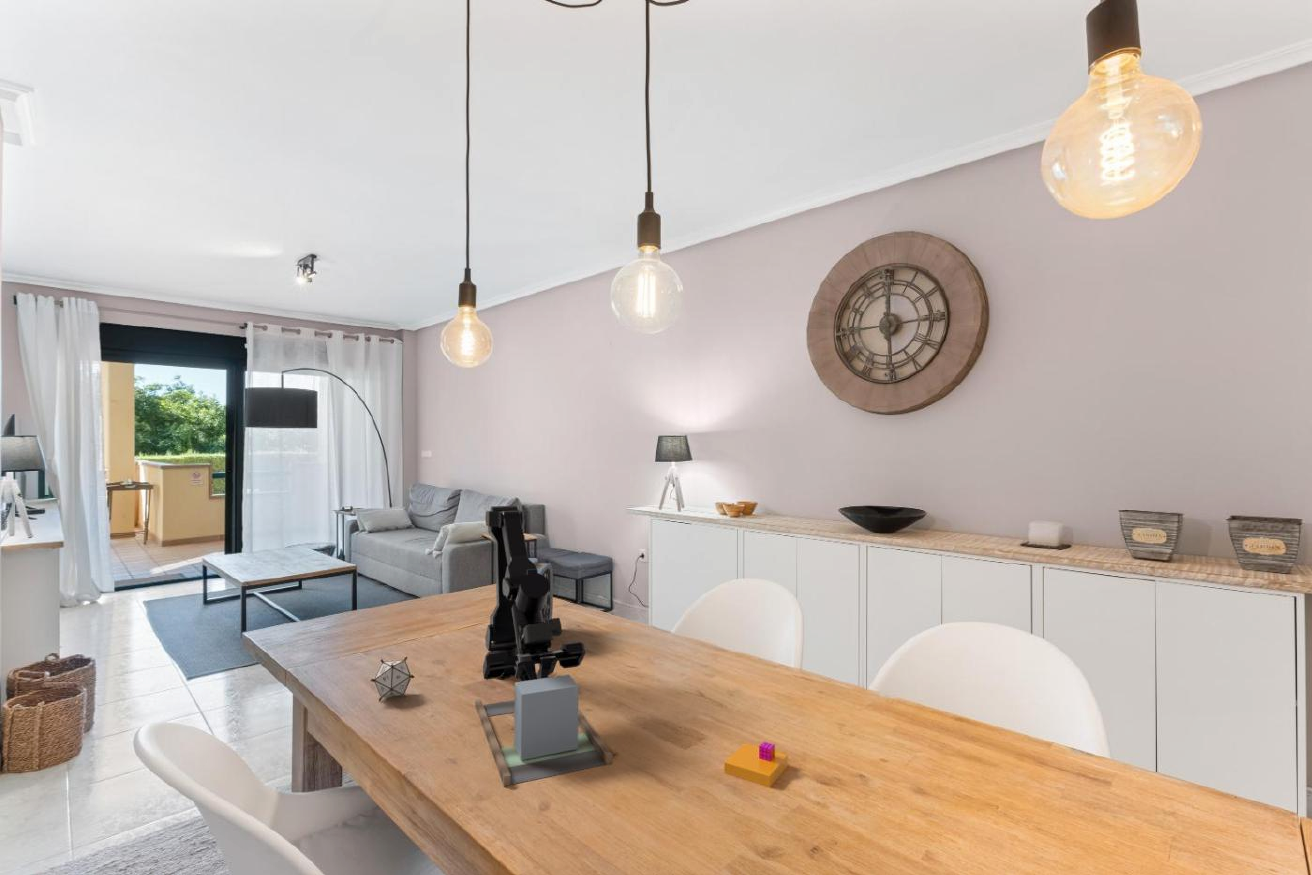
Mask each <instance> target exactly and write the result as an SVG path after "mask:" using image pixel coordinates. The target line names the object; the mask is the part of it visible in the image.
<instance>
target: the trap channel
mask: <svg viewBox="0 0 1312 875" xmlns="http://www.w3.org/2000/svg"><path fill="white" fill-rule="evenodd" d="M474 701H475V702H474V703H475V705H474V706H475V710H476V713H477V715H478V718H479V721H480V724H481V726H482V729H483V733H484V735H485V737H486V740H487V743H488V746H489V748H490V750H491V754H492V756H493V759H494V763H495V765H496V767H497V771H498V773H499V776H500V779H501V782H502V785H503V787H507V786H512V785H515V784H516V785H517V784H520V783H527V782H530V781H535V780H541V779H545V778H549V777H554V776H559V775H564V774H567V773H572V772H578V771H581V770H585V769H586V770H587V769H590V768H596V767H600V766H606V765H610V764H612V763H613V754H612V752H611V751H610V749H609V748H608V746H606V744H605V742H604V741H603V740H602V739H601V738H600V736H599V735H598V734H597V733H596V731H595V730H594V728H593V727H592V725H591V724H590V723H589V721H588V720H587V719H586V718H585V716H584V715H583V714H582V712H581V710H579V709H578V728H580V729H581V731H582V732H583V733H582V732H581V733H578V749H575V750H570V751H565V752H560V753H555V754H550V755H545V756H540V757H535V758H530V759H525V760H521V759H520V757H519V754H518V752H517V750H516V748H515V745H514V746H508V747H503V748H501V747H500V744H499V742H498V740H497V737H496V734H495V732H494V729H493V727H492V724H491V722H490V719H489V718H488V717H492V716H493V717H494V716H499V715H505V714H510V713H515V699H513V700H506V701H499V702H495V703H494V702H493V703H488V704H487V703H486V704H483V702H482V699H481V698H479V697H478V698H475V700H474Z"/></svg>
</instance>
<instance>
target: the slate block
mask: <svg viewBox="0 0 1312 875" xmlns="http://www.w3.org/2000/svg"><path fill="white" fill-rule="evenodd" d="M514 700H515V712H514V713H513V714H514V721H513V722H514V723H513V724H514V725H513V726H514V729H513V730H514V732H513V736H514V737H513V744H514V746H515V748H516V750H517V752H518V754H519V757H520V759H521V760H525V759H530V758H535V757H540V756H545V755H550V754H555V753H560V752H565V751H570V750H575V749H578V734H579V725H578V710H579V685H578V683H577V682H576V681H575V680H574V679H573V678H572V677H571V675H570V674H565V675H564V674H563V675H557V676H551V677H549V676H548V678H543V679H538V678H537V679H536V680H529V681H522V680H521V681H516V682H514Z"/></svg>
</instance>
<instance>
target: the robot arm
mask: <svg viewBox="0 0 1312 875" xmlns="http://www.w3.org/2000/svg"><path fill="white" fill-rule="evenodd" d="M485 511H486V512H485V517H484V518H485V526H487V533H488V534H489V536H490V537H491V540H493V542H494V544H495V589H496V590H495V594H496V596H495V598H496V605H495V607H494V609H493V611H492V613H491V614H490V616H489V624H487V629H486V632H485V639H484V640H485V647H486V649H487V653H486V654H485V656H484V659H483V660H484V661H483V664H482V665H483V666H482V673H483V680H493V679H500V680H505V679H506V678H509V677H512V676H514V678H515V680H520V681H521V682H522V681H529V680H536V679H543V678H549V675H552V674H553V673H554V670H555V668H556V666H557V663H559V666H560V667H562V668H563V669H569V668H577V667H579V666H581V664H582V661H583V659H584V656H585V655H586V649H585V645H584V643H583V642H582V641H581V640H574V641H565V642H562V645H561V648H560V649H558V650H549V648H551V647H552V641H553V640H554V637H558V636H559V637H560V635H562V634H563V630H562V623H561V622H562V621H561V618H560V617H554V618H553V617H552V619H550V620H549V622H548V623H544V622H543V618H542V612H541V610H542V609H543V608H544V605H545V602H546V599H547V596H548V592H549V589H550V582H549V581H548V579H547V578H546V577H545V576H543V575H541V574H538V571H537V567H536V565H535V564H534V563H533V562H532V561H530V560H529V558H530V557H529V556H528V555H529V553H528V550H527V545H526V544H527V543H526V539H525V533H524V528H523V526H524V525H525V510H523V509H518V506H517V505H497V506H496V505H492V506H491V507H490V509H489V510H485ZM515 600H516V602H515ZM536 665H538V670H537V669H536ZM536 670H537V671H536Z"/></svg>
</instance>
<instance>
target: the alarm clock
mask: <svg viewBox="0 0 1312 875" xmlns="http://www.w3.org/2000/svg"><path fill="white" fill-rule="evenodd" d="M528 558H529V560H530V561H532V562H533V563H534V564H535V565H536V567H537V571H538V574H541V575H543V576H545V577H546V578H547V579H548V581H549V582H550V589H549V592H548V596H547V599H546V602H545V605H544V608H543V609H542V610H541V612H542V618H543V622H544V623H548V622H549V620H550V619H552V618H553V607H554V604H553V602H554V601H553V600H554V598H553V597H554V596H553V595H554V594H553V593H554V574H553V571H554V570H553V565H552V564H551V563H549V562H548V563H547V562H545V563H544V562H543V563H541V562H540V563H539V559H538V558H536V557H528ZM515 602H516V600H515Z"/></svg>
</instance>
